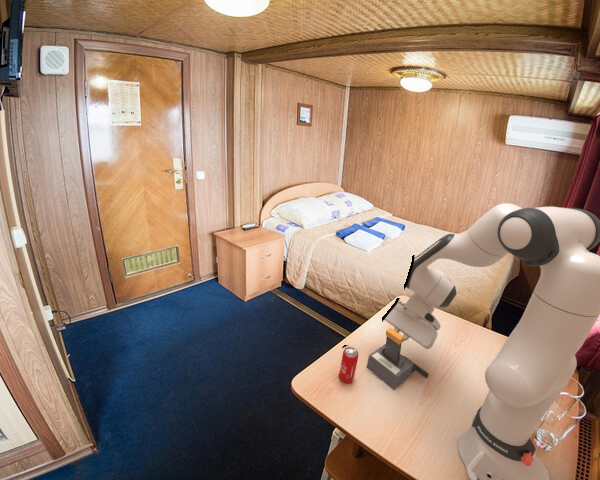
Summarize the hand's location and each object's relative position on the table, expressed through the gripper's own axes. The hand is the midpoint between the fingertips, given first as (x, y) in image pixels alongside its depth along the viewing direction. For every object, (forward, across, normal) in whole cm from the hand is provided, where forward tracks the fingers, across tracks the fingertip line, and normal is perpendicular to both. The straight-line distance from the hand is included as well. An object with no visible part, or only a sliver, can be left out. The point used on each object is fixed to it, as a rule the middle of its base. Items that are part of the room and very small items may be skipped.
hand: (394, 342), depth 106 cm
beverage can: (+20, -6, -2) cm, 21 cm away
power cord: (+4, +5, +15) cm, 16 cm away
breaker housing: (+10, +1, +9) cm, 13 cm away
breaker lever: (+4, 0, +4) cm, 6 cm away
